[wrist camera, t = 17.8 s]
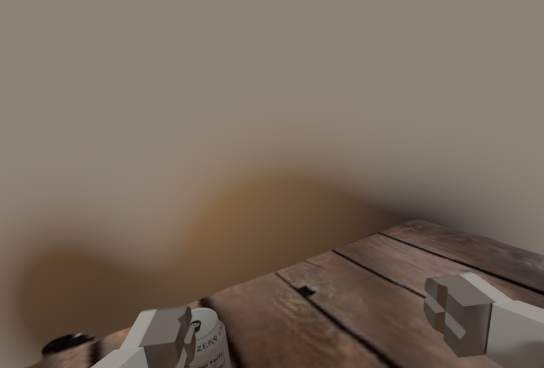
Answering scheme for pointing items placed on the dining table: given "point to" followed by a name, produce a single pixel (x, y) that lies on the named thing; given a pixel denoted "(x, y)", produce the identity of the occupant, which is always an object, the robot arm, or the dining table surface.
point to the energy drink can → (209, 340)
